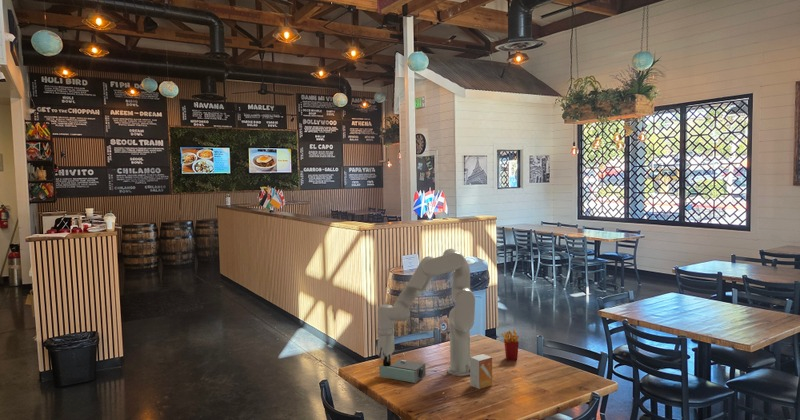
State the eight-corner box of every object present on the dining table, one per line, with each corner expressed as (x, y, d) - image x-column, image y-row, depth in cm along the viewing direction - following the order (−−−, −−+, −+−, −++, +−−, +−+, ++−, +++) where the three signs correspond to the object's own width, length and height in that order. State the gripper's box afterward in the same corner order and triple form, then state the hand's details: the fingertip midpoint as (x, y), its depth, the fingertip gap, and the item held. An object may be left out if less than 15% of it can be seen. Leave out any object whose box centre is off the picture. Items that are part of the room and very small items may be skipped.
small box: (479, 389, 232) (479, 360, 231) (469, 385, 237) (469, 357, 236) (492, 385, 236) (492, 357, 235) (483, 381, 241) (482, 353, 241)
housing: (427, 376, 249) (427, 361, 249) (418, 383, 241) (417, 368, 240) (399, 371, 257) (399, 357, 256) (389, 378, 248) (389, 364, 247)
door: (416, 382, 241) (416, 371, 240) (415, 383, 240) (415, 371, 240) (380, 375, 250) (380, 365, 250) (379, 376, 249) (379, 365, 249)
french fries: (519, 361, 267) (519, 332, 266) (503, 361, 267) (502, 332, 266) (515, 355, 275) (515, 327, 275) (500, 356, 275) (499, 327, 275)
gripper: (386, 326, 258) (386, 362, 259) (371, 334, 244) (372, 373, 245) (399, 327, 255) (400, 364, 255) (386, 336, 241) (387, 375, 242)
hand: (387, 368), depth 250 cm, fingers closed
